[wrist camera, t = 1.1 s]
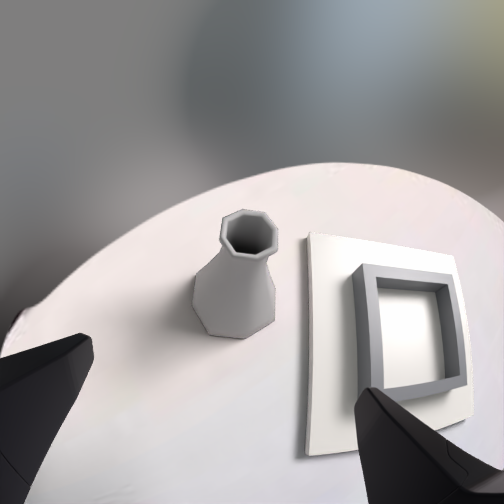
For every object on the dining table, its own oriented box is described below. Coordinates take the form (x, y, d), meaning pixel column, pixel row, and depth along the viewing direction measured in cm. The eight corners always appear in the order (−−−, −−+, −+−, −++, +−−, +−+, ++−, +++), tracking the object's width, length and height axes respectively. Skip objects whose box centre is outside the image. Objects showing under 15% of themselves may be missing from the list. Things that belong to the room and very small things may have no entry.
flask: (200, 348, 21) (192, 312, 12) (184, 267, 24) (173, 190, 15) (287, 329, 22) (335, 281, 14) (263, 253, 26) (290, 177, 17)
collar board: (467, 416, 19) (487, 413, 16) (304, 453, 17) (319, 461, 14) (448, 259, 29) (463, 247, 26) (306, 237, 27) (317, 218, 24)
